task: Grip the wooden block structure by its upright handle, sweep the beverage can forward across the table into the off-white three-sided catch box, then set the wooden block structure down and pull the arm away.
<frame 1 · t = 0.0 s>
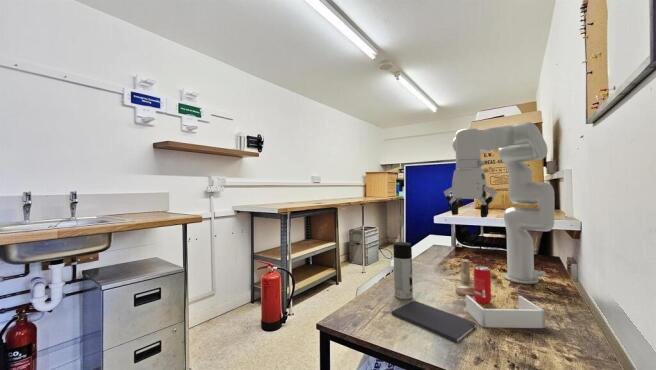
hand: (468, 215, 92), 31 cm above the table, tool pointing down, fingers open, 9 cm apart
notebook: (432, 322, 84), on the table
beverage can: (482, 302, 96), on the table
catch box: (502, 318, 84), on the table
spray can: (403, 296, 102), on the table
wooden block structure: (472, 293, 104), on the table
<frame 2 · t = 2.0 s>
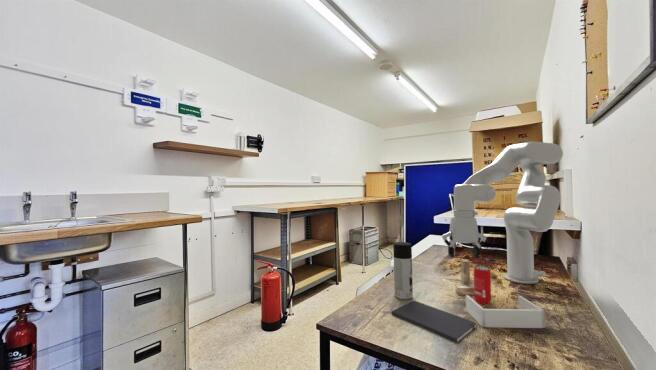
hand: (463, 256, 110), 13 cm above the table, tool pointing down, fingers open, 9 cm apart
nothing on the table moved.
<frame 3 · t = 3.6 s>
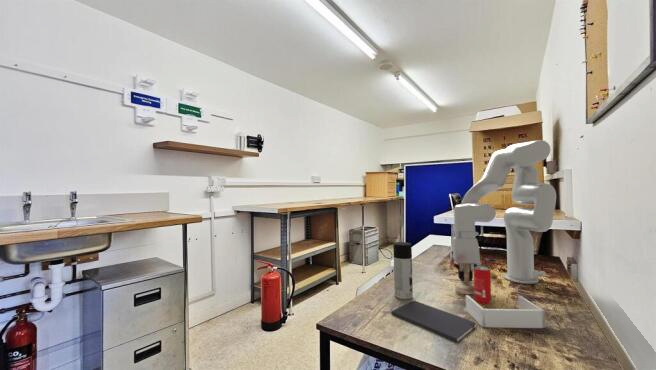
hand: (465, 279, 110), 3 cm above the table, tool pointing down, fingers closed on wooden block structure, 2 cm apart
wooden block structure: (472, 293, 104), on the table, touching gripper
everything else where it was.
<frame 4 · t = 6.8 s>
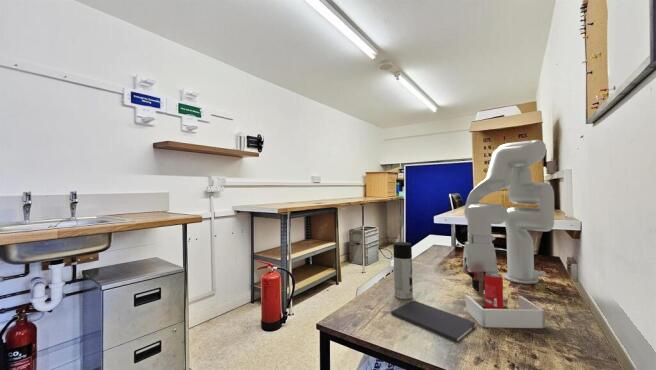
hand: (480, 289, 98), 4 cm above the table, tool pointing down, fingers closed on wooden block structure
beverage can: (494, 311, 89), on the table
wooden block structure: (487, 305, 93), on the table, touching gripper
everything else where it was.
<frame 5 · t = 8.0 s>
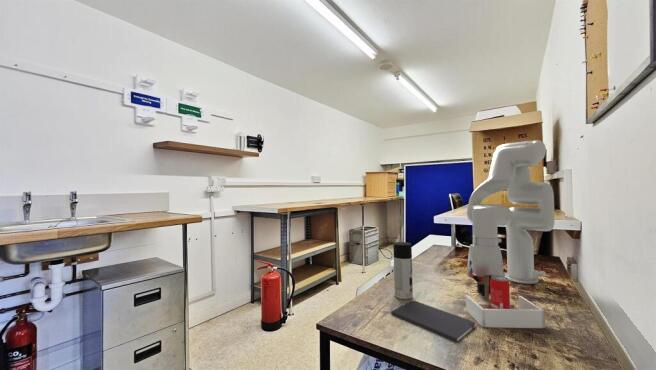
hand: (486, 294, 94), 4 cm above the table, tool pointing down, fingers closed on wooden block structure
beverage can: (500, 316, 86), on the table
wooden block structure: (493, 310, 89), on the table, touching gripper
everything else where it was.
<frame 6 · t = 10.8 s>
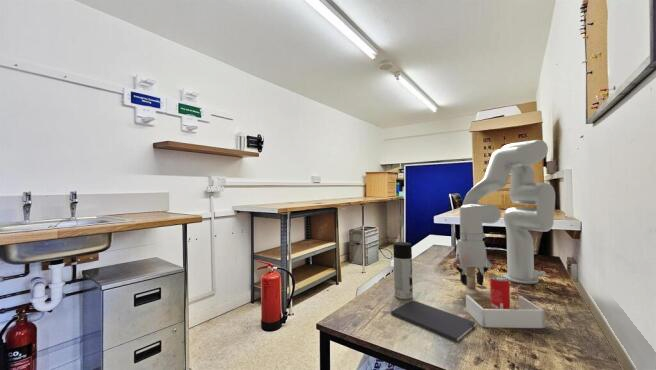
hand: (471, 283, 104), 4 cm above the table, tool pointing down, fingers open, 5 cm apart
wooden block structure: (478, 298, 99), on the table
everything else where it was.
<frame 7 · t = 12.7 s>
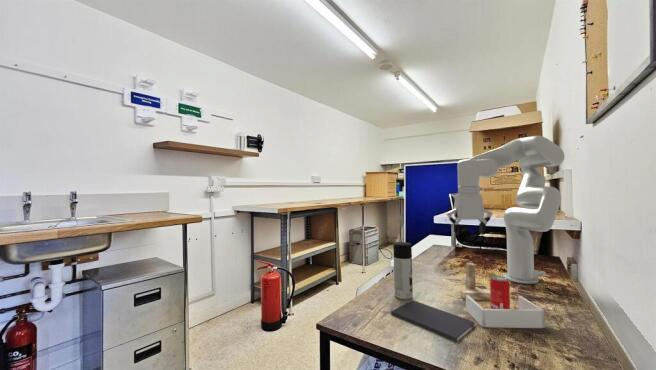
hand: (469, 234, 107), 22 cm above the table, tool pointing down, fingers open, 9 cm apart
nothing on the table moved.
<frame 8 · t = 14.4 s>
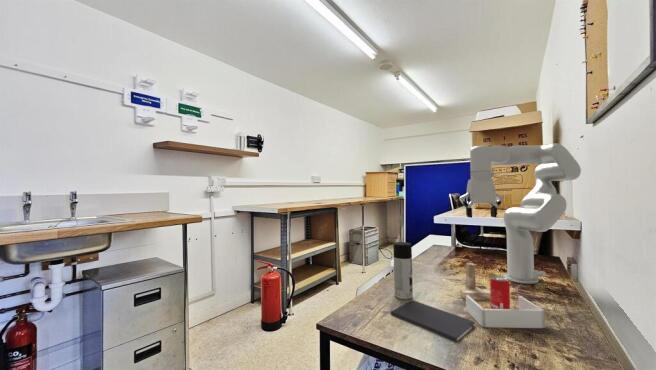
hand: (481, 217, 112), 28 cm above the table, tool pointing down, fingers open, 9 cm apart
nothing on the table moved.
at the end: beverage can inside the target area on the catch box (1.6 cm from its centre), point 0.0 cm above the catch box's base; beverage can tilted 0°; the gripper is holding nothing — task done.
